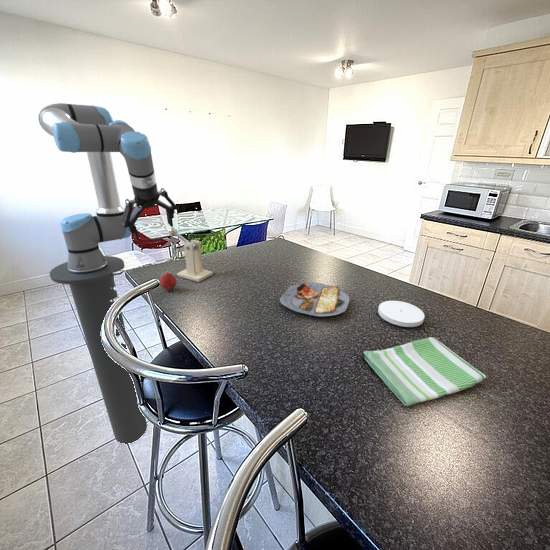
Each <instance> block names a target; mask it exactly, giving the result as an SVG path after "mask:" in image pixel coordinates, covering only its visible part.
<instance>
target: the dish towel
mask: <svg viewBox="0 0 550 550" xmlns="http://www.w3.org/2000/svg"><path fill="white" fill-rule="evenodd" d="M362 352H363V354H364V355H365V356H364V360H365V362H366V363H368V365H369V366H370V368H371V369H373V371H374V372H375V374H377V376H378V377H379V378H380V379H381V380H382V381H383V383H384V384H385V385H386V386H387V387H388V388H389V389H390V391H391V392H392V393H393V394H394V395H395V396H396V397H397V399H398V400H399V401H400V402H401V403H402V404H403V405H404V406H405V407H410V406H413V405H416V404H419V403H423V402H427V401H431V400H436V399H440V398H442V397H445V396H447V395H452V394H455V393H458V392H461V391H464V390H467V389H470V388H473V387H474V386H476V385H478V384H479V383H481V382H483V381H484V380H486V379H487V375H486V374H484V373H483V372H482V371H480V370H479V369H477V368H475V367H474V366H473V365H472V364H470V363H469V362H468V361H466V360H465V359H463V358H462V357H461V356H460V355H458V354H457V353H456V352H454V351H453V350H452V349H450V348H449V347H448V346H446V345H445V344H444V343H443V342H441V341H439V339H438V338H436V337H434V336H433V337H432V336H431V337H425V338H421V339H417V340H413V341H410V342H407V343H404V344H401V345H395V346H392V347H389V348H386V349H378V350H365V351H362Z"/></svg>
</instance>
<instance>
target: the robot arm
mask: <svg viewBox="0 0 550 550" xmlns="http://www.w3.org/2000/svg"><path fill="white" fill-rule="evenodd" d="M38 122H39V125H40V127H41V128H42V130H44V132H46V133H47V134H48V135H49V136H51V137H53V140H54V142H55V145H56V147H57V149H58V151H61V152H64V153H74V154H76V153H86V155H87V159H88V164H89V168H90V173H91V177H92V182H93V186H94V192H95V195H96V200H97V205H98V208H97V209H96V210H95V213H96V215H94V216H93V215H92V214H91V213H89V212H84V213H77V214H72V215H69V216H65V217H64V218H62V219H61V221H60V228H61V233H62V234H63V238H64V241H65V245H66V249H67V253H68V255H67V256H68V257H67V262H68V265H67V267H68V271H69V272H71V273H75V274H84V273H91V272H95V271H98V270H101V269H103V268H105V267H106V266H107V265H108V264H107V260H106V258H105V257H104V256H105V255H104V254H103V252H102V251H101V249H100V246H99V244H100V243H105V242H106V243H107V242H112V241H117V240H123V239H128V238H130V237H131V236H132V235H133V237H134V238H135V239H136V241H140V237H139V233H138V229H137V226H136V225H135V223H136V222H137V221H138V219H139V217H140V216H141V214H142V213H144V211H145V210H148V209H150V208H153V207H155V206H156V205H157V206H158V207H161V208H162V209H164V210H165V214H166V220H167V221H166V222H167V224H168V225H169V226H170V228H171V227H174V223H173V219H174V218H175V213H176V210H178V209H179V207H178V206H177V205H176V204H175V202H174V201H173V200H172V199H171V198H170V196H169V195H168V192H167V190H166V189H165V188H163V187H162V188H160V190H158V185H157V179H156V174H155V168H154V167H155V166H154V162H153V157H152V147H151V144H150V141H149V138H148V136H147V135H146V134H145V133H141V132H140V131H137V130H135V129H134V128H133V127H132V126H130V124H128V123H127V122H126V121H124V120H120V119H117V120H114V119H113V117H112V115H111V113H110V112H109V111H108V110H107V108H105V107H102V106H97V105H86V104H75V103H63V102H60V103H59V102H57V103H51V104H48V105H46V106H44V107H42V108H41V110H40V111H39V113H38ZM112 153H120V154H121V155H122V157H123V159H124V161H125V164H126V167H127V171H128V176H129V180H130V181H129V182H130V184H131V188H132V192H133V196H134V198H133V199H128V198H126V199H125V200H124V201H125V206H124V207H123V206H122V205H121V200H120V195H119V190H118V185H117V179H116V174H115V168H114V164H113V158H112ZM160 197H162V198H164V199H165V200H166V201H167V202H168V203H169V205H168V204H167V203H165V202H163V201H161V200H160Z"/></svg>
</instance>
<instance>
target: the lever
mask: <svg viewBox="0 0 550 550" xmlns="http://www.w3.org/2000/svg"><path fill="white" fill-rule="evenodd" d="M168 233H169V235H170V236H172V237H176V238H178V239H179V240H181V241H182V242H183V243H184V242H187V243H191V244H193V246H194V250H196V248H197V244H195V243H194V242H193V241H192V242H191V241H189V240H188V239H186V238H185V237H184V236H183V235H182V234H180V233H179V231H178V228H176V227H174V226H173V227H171V226H170V227H169V229H168Z"/></svg>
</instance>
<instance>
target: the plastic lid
mask: <svg viewBox="0 0 550 550" xmlns="http://www.w3.org/2000/svg"><path fill="white" fill-rule="evenodd" d="M377 314H378V315H379V317H381V318H382V319H383V320H384V321H386V322H388V323H390V324H392V325H395V326H399V327H403V328H405V327H406V328H415V327H419V326H421V325H422V324H423V323H424V321H425V313H424V311H423V310H422V309H421V308H419V307H418V306H416V305H414V304H411V303H409V302H405V301H401V300H386V301H383V302H380V303H379V304H378V309H377Z"/></svg>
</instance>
